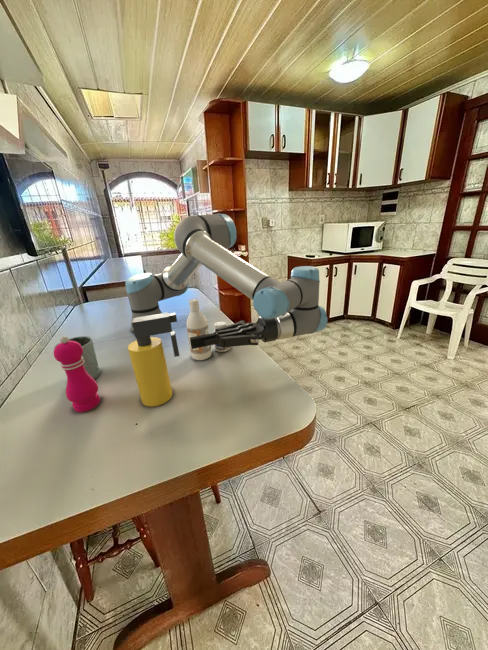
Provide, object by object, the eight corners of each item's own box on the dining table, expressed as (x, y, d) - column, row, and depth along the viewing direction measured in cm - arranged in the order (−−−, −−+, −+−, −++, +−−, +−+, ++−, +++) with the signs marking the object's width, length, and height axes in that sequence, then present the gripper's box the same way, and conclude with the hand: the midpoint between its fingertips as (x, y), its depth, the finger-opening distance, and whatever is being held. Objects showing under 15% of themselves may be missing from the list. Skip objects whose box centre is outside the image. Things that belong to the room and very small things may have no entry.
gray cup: (104, 365, 90) (94, 333, 86) (100, 381, 81) (89, 346, 77) (70, 373, 87) (58, 340, 83) (63, 390, 78) (48, 354, 74)
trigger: (174, 351, 71) (170, 331, 68) (178, 351, 71) (174, 330, 69) (174, 356, 68) (170, 335, 66) (179, 355, 68) (175, 334, 66)
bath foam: (187, 358, 91) (177, 302, 83) (200, 349, 96) (192, 296, 89) (203, 362, 87) (195, 304, 80) (215, 353, 93) (208, 298, 85)
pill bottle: (227, 353, 92) (224, 327, 89) (213, 351, 94) (209, 326, 90) (232, 346, 97) (230, 321, 93) (219, 344, 99) (216, 320, 95)
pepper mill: (68, 416, 67) (39, 345, 59) (76, 399, 73) (51, 333, 66) (99, 409, 69) (75, 339, 61) (104, 393, 75) (83, 328, 68)
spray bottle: (142, 391, 75) (122, 316, 66) (187, 381, 78) (174, 308, 69) (141, 409, 67) (119, 328, 59) (191, 397, 71) (176, 318, 62)
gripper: (265, 308, 80) (185, 321, 74) (283, 322, 68) (191, 340, 62) (266, 331, 83) (190, 345, 77) (284, 348, 71) (196, 367, 65)
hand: (190, 343), depth 70 cm, fingers closed
